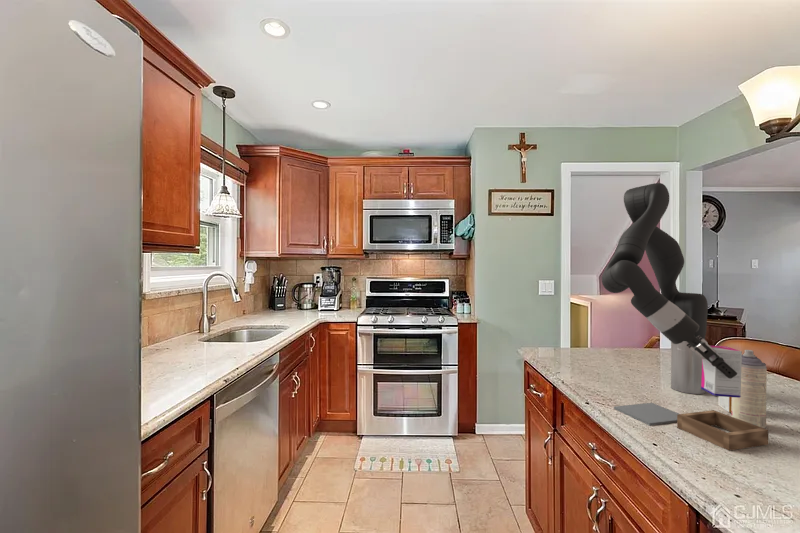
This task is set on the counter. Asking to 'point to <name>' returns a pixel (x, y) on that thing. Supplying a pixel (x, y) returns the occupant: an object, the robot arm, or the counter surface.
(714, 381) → the supplement box
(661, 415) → the slate mat
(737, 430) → the tray
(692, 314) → the robot arm
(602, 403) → the counter surface
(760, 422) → the aerosol can
